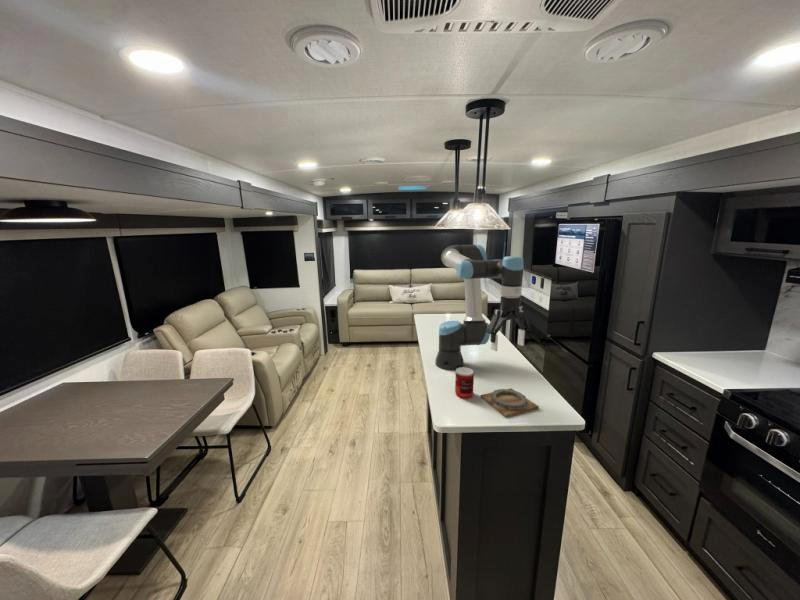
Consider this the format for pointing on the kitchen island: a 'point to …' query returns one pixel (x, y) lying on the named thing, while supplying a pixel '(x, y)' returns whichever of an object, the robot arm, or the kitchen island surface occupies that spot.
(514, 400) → the socket board
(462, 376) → the canned food
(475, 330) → the robot arm
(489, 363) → the kitchen island surface
